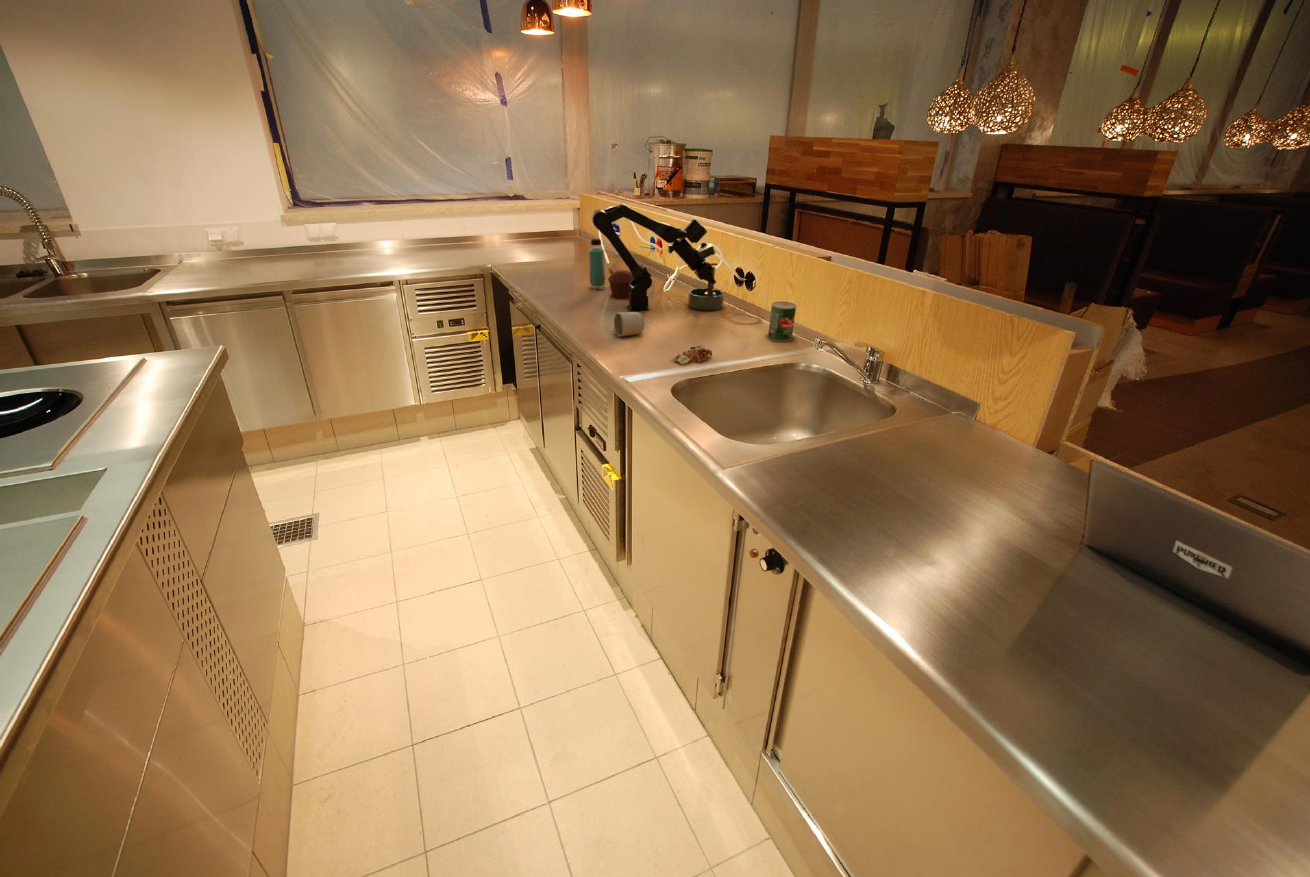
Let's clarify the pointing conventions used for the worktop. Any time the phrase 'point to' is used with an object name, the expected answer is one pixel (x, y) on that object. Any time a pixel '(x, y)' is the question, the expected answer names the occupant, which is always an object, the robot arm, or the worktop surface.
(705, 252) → the robot arm
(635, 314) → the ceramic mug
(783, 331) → the canned tomato
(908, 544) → the worktop surface
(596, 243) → the beverage bottle
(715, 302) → the bowl
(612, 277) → the muffin
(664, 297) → the worktop surface
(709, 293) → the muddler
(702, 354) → the pastry
